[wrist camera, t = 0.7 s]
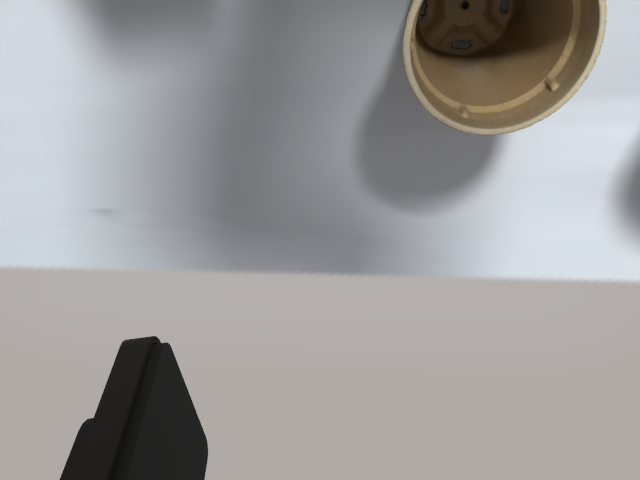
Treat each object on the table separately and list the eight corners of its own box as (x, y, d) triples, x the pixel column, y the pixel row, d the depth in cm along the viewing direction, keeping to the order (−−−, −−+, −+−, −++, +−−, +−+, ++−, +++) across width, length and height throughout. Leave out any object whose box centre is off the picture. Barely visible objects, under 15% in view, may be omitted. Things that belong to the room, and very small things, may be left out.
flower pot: (418, 108, 38) (446, 166, 31) (354, -32, 34) (370, -3, 26) (560, 37, 36) (627, 81, 29) (513, -123, 32) (578, -118, 24)
